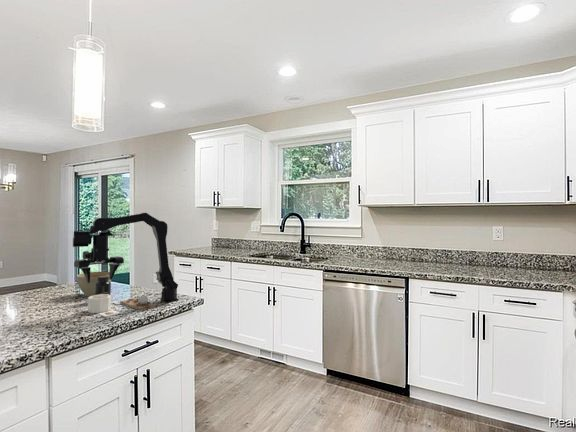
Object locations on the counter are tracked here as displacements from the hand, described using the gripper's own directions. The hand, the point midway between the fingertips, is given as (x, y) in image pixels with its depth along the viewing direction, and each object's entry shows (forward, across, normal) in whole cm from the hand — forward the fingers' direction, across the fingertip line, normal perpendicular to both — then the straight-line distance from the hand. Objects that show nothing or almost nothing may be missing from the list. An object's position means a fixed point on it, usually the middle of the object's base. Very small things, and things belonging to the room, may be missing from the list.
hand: (99, 281), depth 145 cm
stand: (+13, -15, +5) cm, 20 cm away
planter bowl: (+13, -11, -31) cm, 35 cm away
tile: (+13, 0, +9) cm, 16 cm away
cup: (+13, 0, 0) cm, 13 cm away
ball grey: (+10, -15, +10) cm, 20 cm away
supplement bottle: (+13, -8, -15) cm, 21 cm away
